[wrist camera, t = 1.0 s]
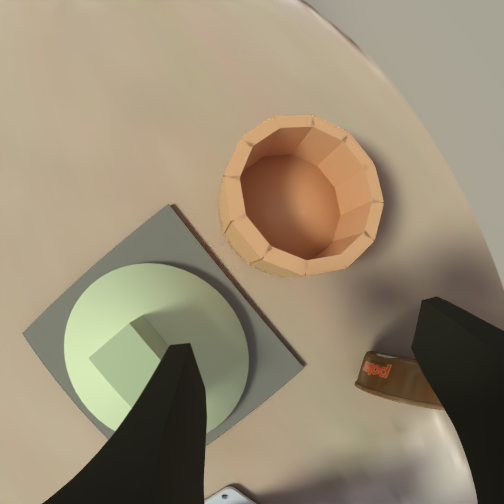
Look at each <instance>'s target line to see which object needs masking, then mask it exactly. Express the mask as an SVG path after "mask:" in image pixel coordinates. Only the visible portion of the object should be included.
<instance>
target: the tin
mask: <svg viewBox="0 0 504 504" xmlns="http://www.w3.org/2000/svg"><path fill="white" fill-rule="evenodd" d="M355 386H356V387H357V388H359V389H361V390H363V391H365V392H368V393H371V394H373V395H376V396H379V397H383V398H385V399H389V400H392V401H397V402H400V403H404V404H409V405H414V406H420V407H425V408H431V409H439V410H445V409H444V407H443V406H442V404H441V402H440V401H439V399H438V398H437V396H436V394H435V393H434V391H433V389H432V388H431V386H430V384H429V383H428V381H427V379H426V378H425V376H424V374H423V373H422V371H421V368H420V366H419V364H418V362H417V360H414V359H409V358H403V357H398V356H393V355H388V354H383V353H378V352H374V351H368V352H367V353H366V355H365V357H364V360H363V363H362V366H361V369H360V373H359V376H358V379H357V381H356V382H355Z"/></svg>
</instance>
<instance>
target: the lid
mask: <svg viewBox="0 0 504 504" xmlns="http://www.w3.org/2000/svg"><path fill="white" fill-rule="evenodd" d="M184 343H191V346H192V350H193V353H194V356H195V359H196V362H197V365H198V368H199V371H200V374H201V377H202V380H203V383H204V386H205V389H206V406H207V429H206V433H208V432H210V431H211V430H213V429H214V428H216V427H217V426H218V425H219V424H220V423H222V422H223V421H224V420H225V419H226V418H227V417H228V416H229V414H230V413H231V412H232V411H233V409H234V408H235V406H236V405H237V403H238V402H239V400H240V397H241V395H242V393H243V391H244V388H245V384H246V381H247V375H248V369H249V355H248V346H247V342H246V338H245V334H244V331H243V328H242V326H241V323H240V321H239V319H238V317H237V316H236V314H235V312H234V310H233V309H232V308H231V306H230V305H229V304H228V302H227V301H226V300H225V299H224V297H223V296H222V295H221V294H220V293H219V292H218V291H217V290H216V289H214V288H213V287H212V286H211V285H209V284H208V283H207V282H206V281H204V280H202V279H201V278H199V277H198V276H196V275H194V274H192V273H190V272H187V271H185V270H183V269H179V268H176V267H173V266H169V265H163V264H153V263H143V264H133V265H129V266H125V267H121V268H118V269H116V270H113V271H111V272H109V273H107V274H105V275H104V276H102V277H100V278H99V279H98V280H96V281H95V282H94V283H92V284H91V285H90V286H89V287H88V288H87V289H86V290H85V291H84V292H83V294H82V295H81V296H80V298H79V299H78V301H77V302H76V304H75V306H74V308H73V309H72V311H71V314H70V316H69V319H68V322H67V326H66V331H65V338H64V356H65V362H66V368H67V371H68V374H69V378H70V381H71V383H72V385H73V387H74V389H75V391H76V393H77V395H78V396H79V398H80V399H81V401H82V402H83V404H84V405H85V406H86V407H87V409H88V410H89V411H90V412H91V413H92V414H93V415H94V416H95V417H96V418H97V419H98V420H100V421H101V422H102V423H103V424H105V425H106V426H107V427H109V428H111V429H112V430H114V431H116V430H117V428H118V427H119V426H120V424H121V423H122V421H123V420H124V419H125V417H126V416H127V414H128V413H129V411H130V410H131V408H132V407H133V406H134V404H135V403H136V401H137V399H138V398H139V396H140V395H141V393H142V391H143V390H144V388H145V386H146V385H147V383H148V382H149V380H150V378H151V377H152V375H153V373H154V371H155V370H156V368H157V366H158V364H159V363H160V361H161V359H162V357H163V355H164V354H165V352H166V350H167V348H168V347H169V346H170V345H174V344H184Z"/></svg>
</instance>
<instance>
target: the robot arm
mask: <svg viewBox="0 0 504 504" xmlns="http://www.w3.org/2000/svg"><path fill="white" fill-rule="evenodd" d="M412 350H413V353H414V355H415V357H416V360H417V362H418V364H419V366H420V368H421V371H422V373H423V374H424V376H425V378H426V379H427V381H428V383H429V384H430V386H431V388H432V389H433V391H434V393H435V394H436V396H437V398H438V399H439V401H440V402H441V404H442V406H443V407H444V409H445V411H446V413H447V414H448V416H449V418H450V419H451V421H452V423H453V425H454V427H455V429H456V431H457V434H458V436H459V438H460V441H461V443H462V446H463V449H464V451H465V454H466V457H467V460H468V463H469V466H470V470H471V473H472V477H473V481H474V485H475V489H476V494H477V500H478V504H504V331H503V330H501V329H499V328H497V327H495V326H493V325H491V324H489V323H487V322H485V321H484V320H482V319H480V318H478V317H476V316H474V315H472V314H471V313H469V312H467V311H465V310H463V309H461V308H459V307H457V306H456V305H454V304H452V303H450V302H448V301H446V300H443V299H441V298H439V297H434V298H430V299H426V300H422V303H421V308H420V313H419V318H418V322H417V327H416V331H415V335H414V339H413V344H412ZM206 429H207V406H206V389H205V386H204V383H203V380H202V377H201V374H200V371H199V368H198V365H197V362H196V359H195V356H194V353H193V350H192V346H191V343H184V344H174V345H170V346H169V347H168V348H167V350H166V352H165V354H164V355H163V357H162V359H161V361H160V363H159V364H158V366H157V368H156V370H155V371H154V373H153V375H152V377H151V378H150V380H149V382H148V383H147V385H146V386H145V388H144V390H143V391H142V393H141V395H140V396H139V398H138V399H137V401H136V403H135V404H134V406H133V407H132V408H131V410H130V411H129V413H128V414H127V416H126V417H125V419H124V420H123V421H122V423H121V424H120V426H119V427H118V428H117V430H116V431H115V432H114V434H113V435H112V436H111V437H110V439H109V440H108V441H107V442H106V444H105V445H104V446H103V447H102V448H101V450H100V451H99V452H98V453H97V454H96V455H95V456H94V457H93V458H92V459H91V461H90V462H89V463H88V464H87V465H86V466H85V467H84V468H83V469H82V470H81V471H80V472H79V473H78V474H77V475H76V476H75V477H74V478H73V479H72V480H70V481H69V482H68V483H67V484H66V485H65V486H63V487H62V488H61V489H60V490H59V491H58V492H56V493H55V494H54V495H53V496H52V497H50V498H49V499H48V500H46V501H45V502H44V503H42V504H256V503H255V502H253V501H252V500H251V499H249V498H248V497H246V496H245V495H244V494H242V493H241V492H240V491H238V490H237V489H236V488H234V487H231V486H229V487H225V488H224V489H222V490H221V491H219V492H217V493H216V494H214V495H213V496H211V497H209V498H208V499H206V500H204V463H205V446H206ZM224 494H227V496H222V495H224Z"/></svg>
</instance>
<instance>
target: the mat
mask: <svg viewBox="0 0 504 504" xmlns="http://www.w3.org/2000/svg"><path fill="white" fill-rule="evenodd" d="M143 263H153V264H163V265H169V266H173V267H176V268H179V269H183V270H185V271H187V272H190V273H192V274H194V275H196V276H198V277H199V278H201V279H202V280H204V281H206V282H207V283H208V284H209V285H211V286H212V287H213V288H214V289H216V290H217V291H218V292H219V293H220V294H221V295H222V296H223V297H224V299H225V300H226V301H227V302H228V304H229V305H230V306H231V308H232V309H233V310H234V312H235V314H236V316H237V317H238V319H239V321H240V323H241V326H242V328H243V331H244V334H245V338H246V342H247V346H248V355H249V369H248V375H247V381H246V384H245V388H244V391H243V393H242V395H241V397H240V400H239V402H238V403H237V405H236V406H235V408H234V409H233V411H232V412H231V413H230V414H229V416H228V417H227V418H226V419H225V420H224V421H223V422H222V423H220V424H219V425H218V426H217V427H216V428H214V429H213V430H211V431H210V432H208V433H206V445H207V444H209V443H210V442H212V441H213V440H214V439H216V438H217V437H218V436H220V435H221V434H223V433H224V432H225V431H227V430H228V429H229V428H231V427H232V426H233V425H235V424H236V423H237V422H239V421H240V420H241V419H242V418H244V417H245V416H246V415H248V414H249V413H250V412H251V411H253V410H254V409H255V408H256V407H258V406H259V405H260V404H261V403H263V402H264V401H265V400H266V399H268V398H269V397H270V396H271V395H272V394H274V393H275V392H276V391H277V390H278V389H280V388H281V387H282V386H283V385H284V384H286V383H287V382H288V381H289V380H290V379H291V378H292V377H294V376H295V375H296V374H297V373H298V372H299V371H300V370H302V369H303V366H302V365H301V364H300V363H299V362H298V361H297V359H296V358H295V357H294V356H293V355H292V354H291V353H290V351H289V350H288V349H287V348H286V347H285V346H284V344H283V343H282V342H281V341H280V340H279V339H278V337H277V336H276V335H275V334H274V333H273V332H272V330H271V329H270V328H269V327H268V326H267V324H266V323H265V322H264V321H263V320H262V319H261V317H260V316H259V315H258V314H257V313H256V311H255V310H254V309H253V308H252V307H251V305H250V304H249V303H248V302H247V301H246V299H245V298H244V297H243V296H242V295H241V293H240V292H239V291H238V290H237V289H236V287H235V286H234V285H233V284H232V282H231V281H230V280H229V279H228V278H227V276H226V275H225V274H224V273H223V271H222V270H221V269H220V268H219V267H218V265H217V264H216V263H215V262H214V260H213V259H212V258H211V257H210V255H209V254H208V253H207V252H206V251H205V249H204V248H203V247H202V246H201V244H200V243H199V242H198V241H197V239H196V238H195V237H194V236H193V234H192V233H191V232H190V231H189V229H188V228H187V227H186V225H185V224H184V223H183V222H182V220H181V219H180V218H179V217H178V215H177V214H176V213H175V212H174V210H173V209H172V208H171V206H170V205H169V204H168V205H166V206H165V207H164V208H162V209H161V210H160V211H159V212H157V213H156V214H155V215H154V216H152V217H151V218H150V219H148V220H147V221H146V222H145V223H144V224H142V225H141V226H140V227H139V228H137V229H136V230H135V231H134V232H132V233H131V234H130V235H129V236H128V237H126V238H125V239H124V240H123V241H122V242H120V243H119V244H118V245H117V246H116V247H115V248H113V249H112V250H111V251H110V252H109V253H108V254H106V255H105V256H104V257H103V258H102V259H101V260H99V261H98V262H97V263H96V264H95V265H94V266H93V267H91V268H90V269H89V270H88V271H87V272H86V273H85V274H84V275H83V276H81V277H80V278H79V279H78V280H77V281H76V282H75V283H74V284H73V285H72V286H70V287H69V288H68V289H67V290H66V291H65V292H64V293H63V294H62V295H61V296H60V297H59V298H58V299H57V300H56V301H54V302H53V303H52V304H51V305H50V306H49V307H48V308H47V309H46V310H45V311H44V312H43V313H42V314H41V315H40V316H39V317H38V318H37V319H36V320H35V321H34V322H33V323H32V324H31V325H30V326H29V327H28V328H27V329H26V330H25V331H24V332H23V333H22V334H23V335H24V337H25V338H26V340H27V341H28V343H29V344H30V346H31V347H32V349H33V350H34V352H35V353H36V354H37V356H38V357H39V359H40V360H41V361H42V363H43V364H44V365H45V367H46V368H47V369H48V371H49V372H50V373H51V375H52V376H53V377H54V379H55V380H56V381H57V382H58V384H59V385H60V386H61V387H62V389H63V390H64V391H65V392H66V394H67V395H68V396H69V397H70V398H71V399H72V401H73V402H74V403H75V404H76V405H77V406H78V408H79V409H80V410H81V411H82V412H83V413H84V414H85V415H86V417H87V418H88V419H89V420H90V421H91V422H92V423H93V424H94V425H95V426H96V427H97V428H98V429H99V430H100V431H101V432H102V433H103V435H104V436H105V437H106V438H107V439H108V440H109V439H110V437H111V436H112V435H113V434H114V432H115V431H114V430H112V429H111V428H109V427H107V426H106V425H105V424H103V423H102V422H101V421H100V420H98V419H97V418H96V417H95V416H94V415H93V414H92V413H91V412H90V411H89V410H88V409H87V407H86V406H85V405H84V404H83V402H82V401H81V399H80V398H79V396H78V395H77V393H76V391H75V389H74V387H73V385H72V383H71V381H70V378H69V374H68V371H67V368H66V362H65V356H64V338H65V331H66V326H67V322H68V319H69V316H70V314H71V311H72V309H73V308H74V306H75V304H76V302H77V301H78V299H79V298H80V296H81V295H82V294H83V292H84V291H85V290H86V289H87V288H88V287H89V286H90V285H91V284H92V283H94V282H95V281H96V280H98V279H99V278H100V277H102V276H104V275H105V274H107V273H109V272H111V271H113V270H116V269H118V268H121V267H125V266H129V265H133V264H143Z"/></svg>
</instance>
